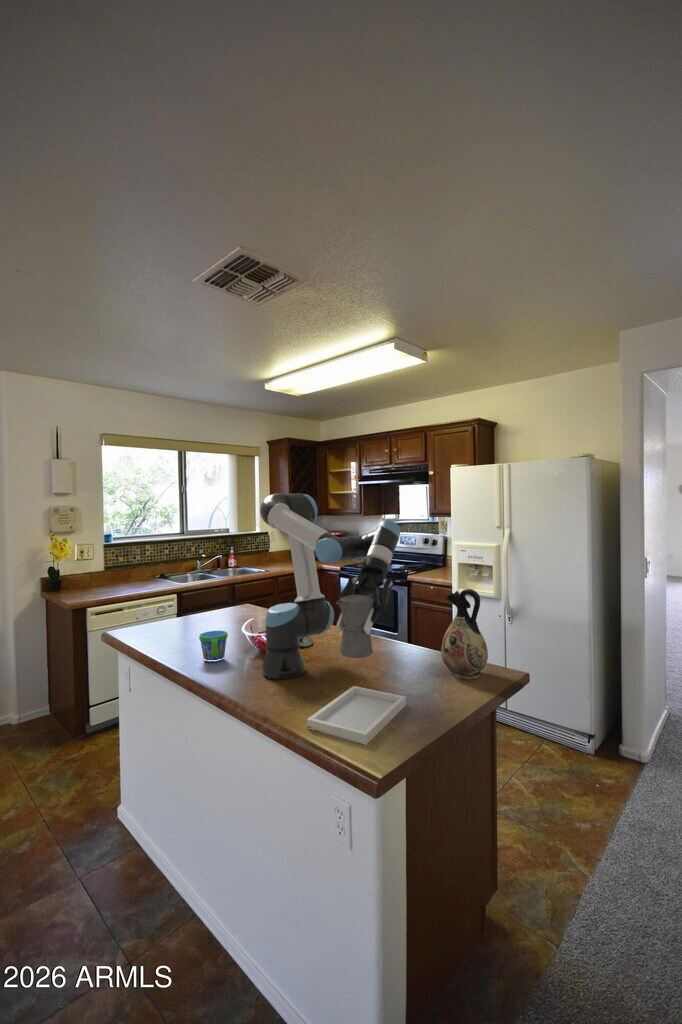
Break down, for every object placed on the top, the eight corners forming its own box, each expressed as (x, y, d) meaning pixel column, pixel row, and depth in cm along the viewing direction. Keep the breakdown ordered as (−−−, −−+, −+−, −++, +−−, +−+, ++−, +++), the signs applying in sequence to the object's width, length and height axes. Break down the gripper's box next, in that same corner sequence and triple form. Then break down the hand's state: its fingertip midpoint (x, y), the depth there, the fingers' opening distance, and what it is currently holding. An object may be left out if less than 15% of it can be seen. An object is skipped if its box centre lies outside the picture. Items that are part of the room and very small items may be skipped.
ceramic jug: (432, 676, 155) (431, 588, 155) (455, 664, 167) (453, 582, 167) (479, 688, 144) (478, 594, 144) (500, 675, 155) (499, 587, 155)
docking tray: (307, 728, 120) (306, 719, 120) (353, 693, 142) (353, 685, 142) (366, 744, 111) (365, 734, 111) (406, 705, 133) (405, 696, 133)
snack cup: (201, 655, 183) (200, 629, 183) (228, 652, 185) (228, 627, 185) (198, 668, 168) (197, 640, 168) (227, 665, 170) (227, 638, 170)
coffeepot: (347, 662, 118) (348, 593, 118) (326, 652, 126) (327, 587, 126) (391, 651, 128) (392, 587, 127) (369, 642, 135) (370, 582, 135)
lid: (299, 640, 201) (299, 629, 201) (317, 643, 196) (317, 632, 196) (283, 646, 193) (283, 634, 193) (302, 650, 187) (302, 638, 187)
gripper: (412, 573, 135) (391, 642, 121) (351, 569, 145) (325, 633, 131) (405, 556, 130) (382, 626, 116) (342, 554, 140) (315, 618, 126)
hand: (352, 629), depth 124 cm, fingers closed on coffeepot, 8 cm apart
